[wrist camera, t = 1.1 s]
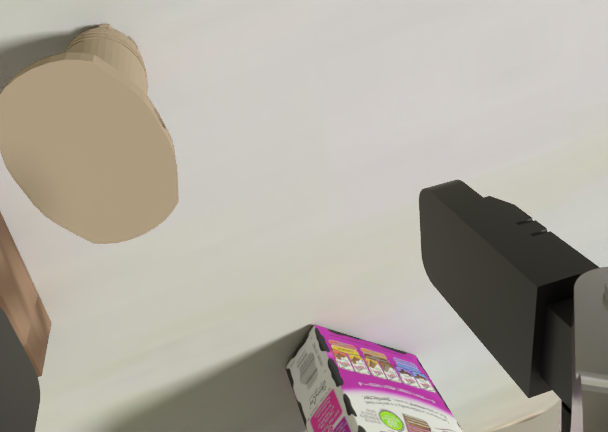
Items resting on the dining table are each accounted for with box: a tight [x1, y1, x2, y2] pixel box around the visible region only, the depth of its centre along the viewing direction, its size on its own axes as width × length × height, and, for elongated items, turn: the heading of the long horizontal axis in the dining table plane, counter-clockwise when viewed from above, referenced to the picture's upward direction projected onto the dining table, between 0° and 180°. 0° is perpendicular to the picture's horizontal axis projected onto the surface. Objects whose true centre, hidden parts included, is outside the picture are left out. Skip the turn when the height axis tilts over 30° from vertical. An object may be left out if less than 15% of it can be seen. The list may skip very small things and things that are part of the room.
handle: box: [0, 24, 178, 244], centre depth 24 cm, size 5×6×15 cm
